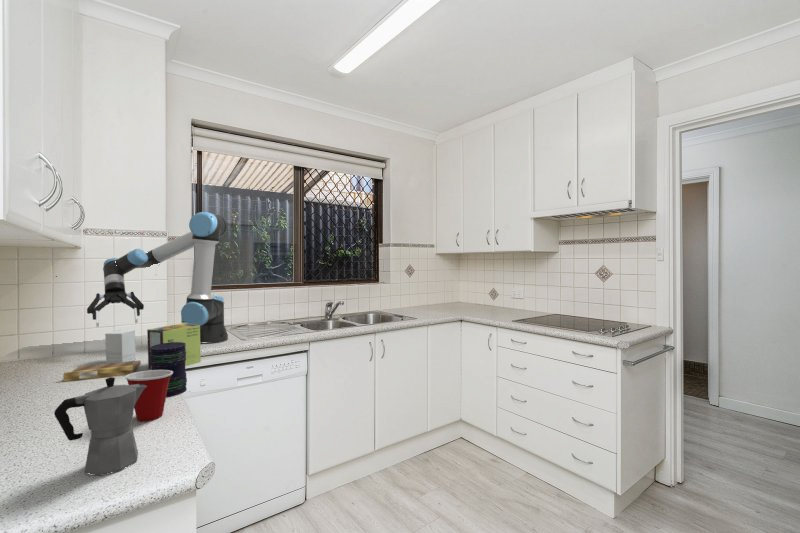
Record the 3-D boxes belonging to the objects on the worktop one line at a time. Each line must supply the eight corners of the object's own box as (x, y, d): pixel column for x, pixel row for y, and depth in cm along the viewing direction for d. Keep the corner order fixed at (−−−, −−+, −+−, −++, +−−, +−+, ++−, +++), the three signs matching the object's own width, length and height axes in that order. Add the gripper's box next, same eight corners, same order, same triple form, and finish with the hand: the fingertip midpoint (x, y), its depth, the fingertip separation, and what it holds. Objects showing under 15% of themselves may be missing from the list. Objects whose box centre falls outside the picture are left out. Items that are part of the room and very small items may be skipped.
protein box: (201, 362, 157) (200, 324, 157) (163, 372, 144) (162, 331, 143) (185, 359, 162) (184, 322, 162) (147, 368, 149) (146, 329, 148)
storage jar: (187, 393, 120) (186, 346, 120) (150, 400, 115) (149, 350, 115) (186, 385, 129) (185, 340, 128) (151, 390, 124) (150, 344, 123)
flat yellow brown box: (140, 364, 155) (140, 356, 155) (132, 374, 141) (132, 366, 141) (78, 370, 147) (78, 362, 147) (63, 382, 133) (62, 373, 133)
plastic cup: (183, 411, 107) (182, 368, 106) (147, 427, 96) (146, 380, 96) (153, 407, 110) (152, 365, 109) (115, 422, 99) (114, 377, 99)
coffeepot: (139, 444, 88) (137, 366, 87) (157, 457, 82) (155, 373, 82) (50, 476, 75) (47, 384, 75) (64, 493, 70) (61, 394, 69)
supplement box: (136, 359, 162) (135, 330, 162) (122, 364, 155) (121, 333, 155) (120, 359, 163) (119, 329, 163) (105, 364, 156) (104, 333, 155)
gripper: (146, 290, 187) (150, 324, 176) (79, 293, 172) (80, 331, 160) (147, 279, 183) (152, 314, 172) (79, 282, 167) (79, 320, 156)
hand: (117, 323), depth 166 cm, fingers open, 13 cm apart
